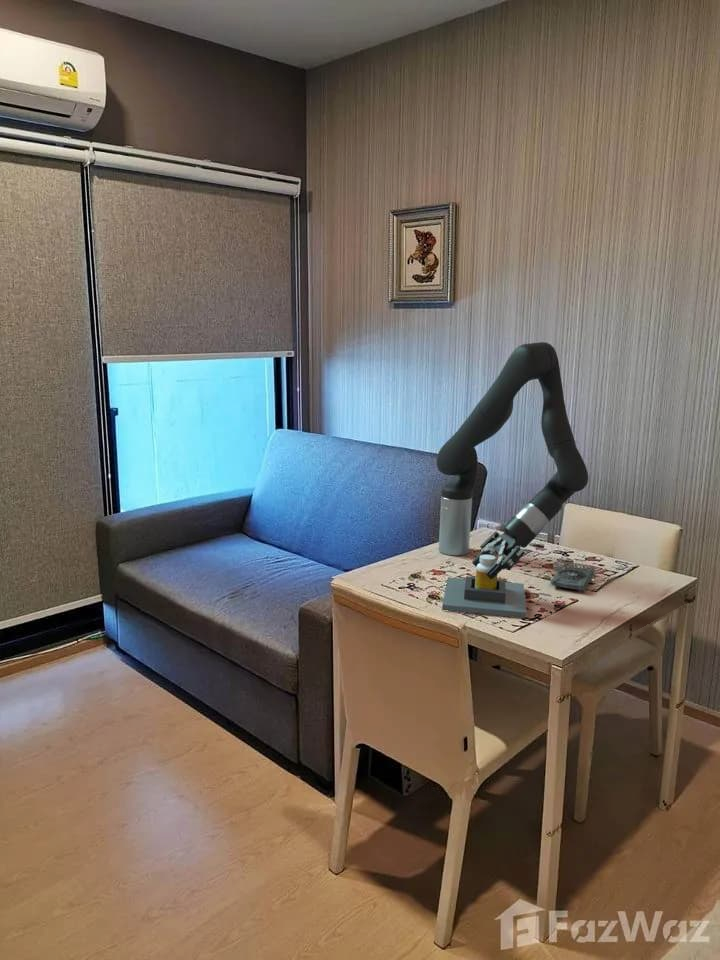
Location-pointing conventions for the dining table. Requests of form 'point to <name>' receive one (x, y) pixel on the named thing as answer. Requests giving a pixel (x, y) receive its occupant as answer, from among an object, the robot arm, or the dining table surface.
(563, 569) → the graphics card
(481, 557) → the supplement bottle
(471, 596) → the socket board
